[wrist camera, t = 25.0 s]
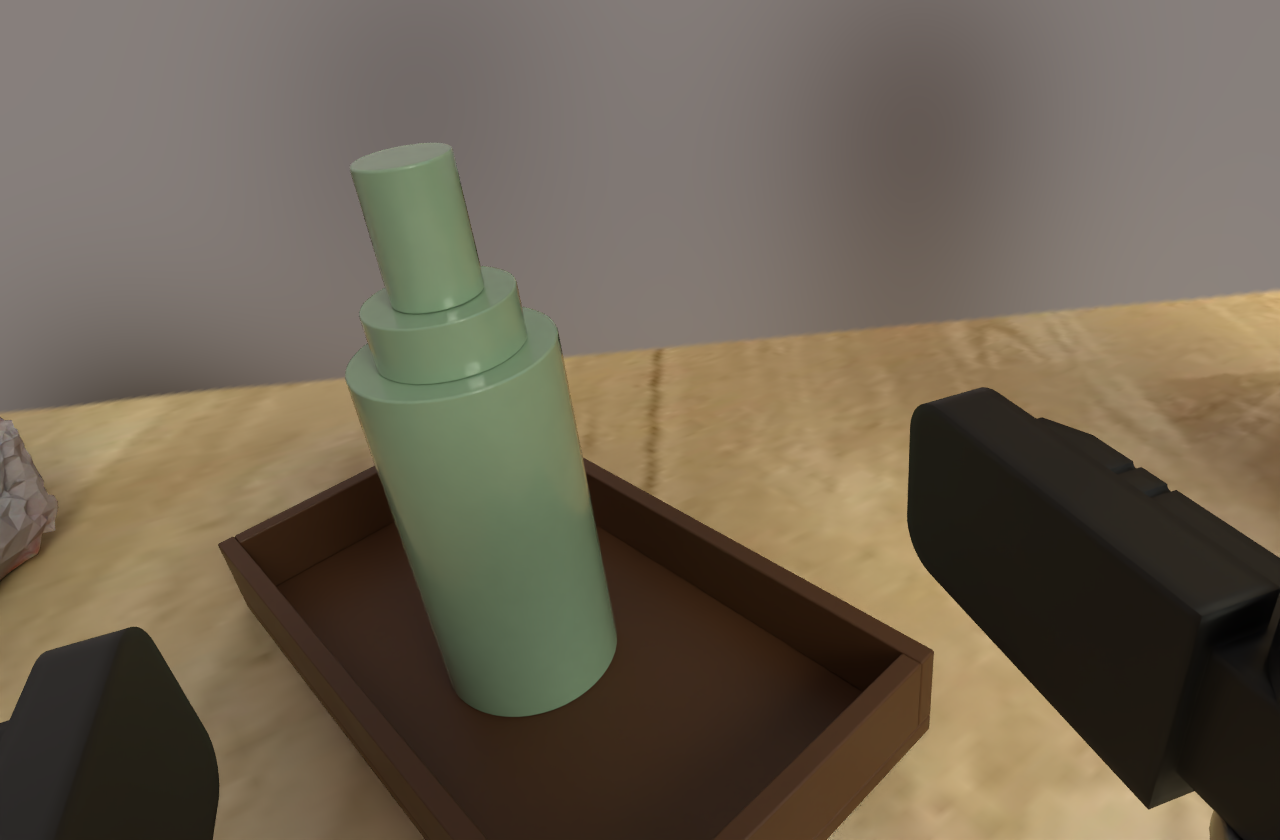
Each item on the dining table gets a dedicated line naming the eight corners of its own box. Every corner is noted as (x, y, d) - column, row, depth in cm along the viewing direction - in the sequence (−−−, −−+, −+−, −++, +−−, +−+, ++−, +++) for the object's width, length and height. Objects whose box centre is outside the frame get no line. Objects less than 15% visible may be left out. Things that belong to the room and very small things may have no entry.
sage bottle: (549, 567, 31) (442, 118, 23) (652, 641, 28) (567, 135, 20) (416, 654, 29) (241, 175, 20) (510, 750, 25) (341, 208, 17)
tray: (506, 465, 39) (491, 406, 37) (930, 728, 24) (935, 650, 23) (247, 607, 33) (217, 543, 31) (607, 1079, 18) (583, 1004, 16)
